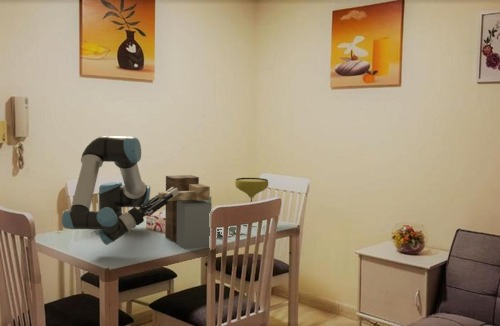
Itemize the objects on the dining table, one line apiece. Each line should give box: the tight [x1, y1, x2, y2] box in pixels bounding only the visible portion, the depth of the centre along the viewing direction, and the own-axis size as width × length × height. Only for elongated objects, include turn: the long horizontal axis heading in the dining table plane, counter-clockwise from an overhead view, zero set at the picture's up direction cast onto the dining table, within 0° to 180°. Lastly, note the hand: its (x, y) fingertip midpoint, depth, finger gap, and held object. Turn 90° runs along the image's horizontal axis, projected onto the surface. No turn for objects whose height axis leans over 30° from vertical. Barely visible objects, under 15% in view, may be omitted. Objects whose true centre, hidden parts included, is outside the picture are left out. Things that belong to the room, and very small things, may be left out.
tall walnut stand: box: [164, 174, 200, 242], centre depth 264 cm, size 13×10×30 cm
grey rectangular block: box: [175, 200, 213, 249], centre depth 251 cm, size 13×10×20 cm
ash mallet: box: [157, 183, 211, 201], centre depth 247 cm, size 22×10×6 cm, turn 119°
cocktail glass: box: [234, 177, 269, 203], centre depth 299 cm, size 18×18×25 cm
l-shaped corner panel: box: [217, 227, 236, 236], centre depth 273 cm, size 12×12×8 cm
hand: (176, 190), depth 245 cm, fingers closed on ash mallet, 3 cm apart
